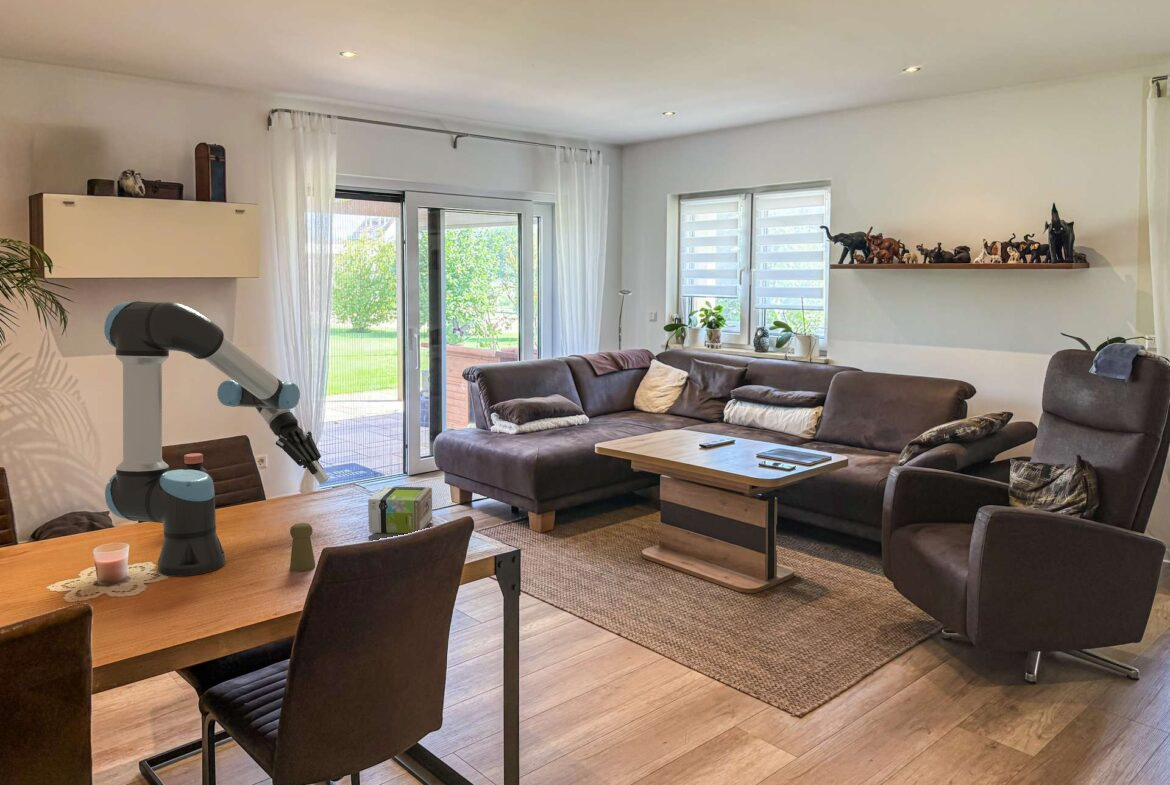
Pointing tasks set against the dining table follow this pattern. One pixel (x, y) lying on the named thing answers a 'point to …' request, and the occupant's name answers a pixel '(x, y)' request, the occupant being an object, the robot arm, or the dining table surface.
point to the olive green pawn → (301, 548)
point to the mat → (385, 535)
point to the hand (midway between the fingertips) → (324, 481)
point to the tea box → (400, 509)
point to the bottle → (194, 462)
